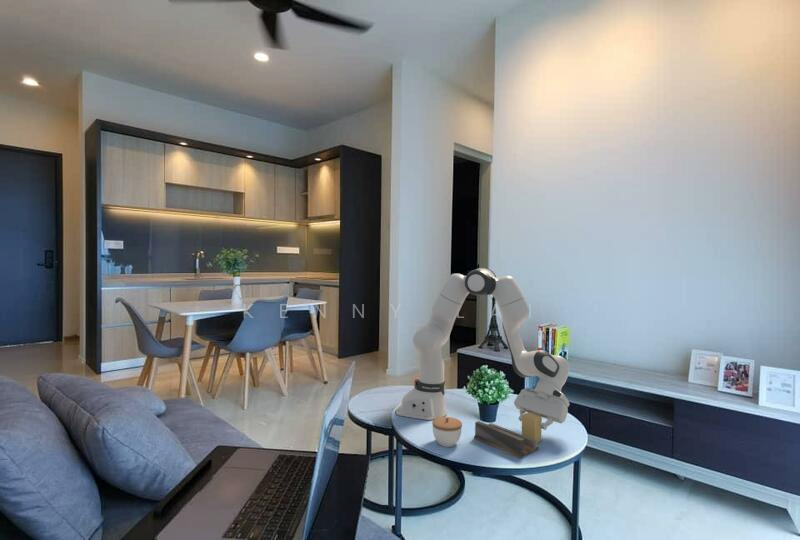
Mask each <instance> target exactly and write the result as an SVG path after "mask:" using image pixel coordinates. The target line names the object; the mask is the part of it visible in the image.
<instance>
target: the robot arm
mask: <svg viewBox="0 0 800 540" xmlns="http://www.w3.org/2000/svg"><path fill="white" fill-rule="evenodd" d="M469 294H471V295H473V296H476V297H477V296H478V297H481V296H490V295H492V296H493V298H494V299H495V301H496V303H497V306H498V308H499V310H500V313H501V317H502V323H501V324H502V329H503V334H504V337H505V339H506V343H507V346H508V350H509V353H510V357H511V366H512V369H513V372H514V373H515V374H516V375H517V376H519V377H520V378H530V377H536V376H537V377H538V378H539V380H538V382H537V383H536V386H535V388H534V389H532V388H528V387H526V388H523V389H521V390H520V391H519V393H518V395H517V396H516V398H515V400H513V404H514V407H515V408H516V409H517V410H518V411H519V417H518V420H519V421H520V422H522V415H523V414H526V413H528V412H529V413H532V414H535V415H538V416H541V417H542V419H546V421H545V422H542V425H541V428H542V430H544V431H546V430H547V429H548V427H549V426H551V425H552V424H553V423H554V422H556V423H558V424H563V423H564V422H565V421H566V419H567V417H568V416H567V415H568V412H569V410H568V408H569V406H570V402H569V399H568V397H566V395H565V394H564V393H563V392H562V388H563V386H564V385H565V383H566V382H567V380H568V376H569V374H570V370H571V369H570V368H571V366H570V362H569V361H568V360H567V359H566V358H565V357H563V356H561V355H558V354H557V355H556V354H555V355H554V354H551V353H550V352H548V351H547V350H544V349H538V350H532V351H527V350H526V349H525V346H524V343H523V340H522V337H521V332H520V330H521V329H520V328H521V326H522V324H523V323H524V322H525V321H526V320H527V319H528V317H529V315H530V306H529V303H528V301H527V298H526V297H525V294H524V292H523V289H522V288H521V287H520V285H519V283H518V282H517V281H516V280H515V278H514V277H513V276H511V275H502V276H500V277H497V276H496V273H495V272H494V271H493V270H492V269H489V268H485V267H484V268H483V267H478V268H475V269H473V270H470V272H468V273H467V274H466V275H464V274H461V273H451V275H449V277H448V278H447V279H446V281H445V282H444V284H443V286H442V287H441V289H440V291H439V292H438V295H437V297H436V300H435V301H434V304H433V305H432V307H431V308H432V309H431V314H430V317H429V321H428V323H427V324H426V325H423V326H422V327H419V329H418V330H416V332H415V333H414V335H413V338H412V343H413V346H414V348H416V353H417V357H418V367H419V369H418V377H415V378H414V384H413V385H414V387H413V388H412V389H411V390H409V391H408V392H407V393H405V394H404V395H403V397H402V400H401V403H400V404H398V405H397V407H396V409H395V413H396V415H397V414H398V415H397V416H399V417H408V418H413V419H420V420H424V421H425V420H426V421H433V420H434V419H436V418H439V417H446V416H447V415H448V410H447V405H446V399H445V394H446V381H445V361H444V360H443V356H442V346H445V345H446V343H447V342H448V340H449V338H450V335H451V332H452V330H453V327H454V324H455V321H456V319H457V316H458V315H459V313H460V311H461V309H462V306H463V304H464V302H465V301H466V298H467V297H468V295H469Z"/></svg>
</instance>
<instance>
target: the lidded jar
mask: <svg viewBox="0 0 800 540" xmlns="http://www.w3.org/2000/svg"><path fill="white" fill-rule="evenodd" d="M431 424H432V433H433V438H434V439H435V440H436V442H437V443H438V445H440V446H442V447H445V448H447V447H448V448H449V447H451V448H452V447H454V446H455V445H456V444H457V443H458V442H459V440H460V438H461V436H462V430H463V429H462V427H463V422H462V421H461V420H460V419H458V418H456V417H450V416H443V417H439V418H435V419H433V420H432V423H431Z"/></svg>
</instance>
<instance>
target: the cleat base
mask: <svg viewBox="0 0 800 540" xmlns="http://www.w3.org/2000/svg"><path fill="white" fill-rule="evenodd" d="M474 423H475V424H474V425H475V426H474V435H473V439H475V440H476V441H480V442H482V443H484V444H486V445H488V446H489V447H490V446H491V447H493V448H495V449H497V450H500V451H502V452H503V453H506V454H508V455H511V456H513V457H515V458H517V459H522V458H524V457H526V456H528V455H530V454H532V453H534V452H535V451H538V450H539V446H537V443H538V442H537V441H536V440H534V439H531V438H529V437H526V436H524V435H522V433H519V432H516V431H514V430H513V431H512V430H511V429H507V428H506V427H502V426H501V425H498V424H495V423H493V422H490V423H489V422H488V423H485V422H482V421H480V420H478V421H475V422H474Z"/></svg>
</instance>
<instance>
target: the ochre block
mask: <svg viewBox="0 0 800 540" xmlns="http://www.w3.org/2000/svg"><path fill="white" fill-rule="evenodd" d="M542 420H543V417H541V416H538V415H535V414H532V413H529V412H525V414H524V413H523V415H522V421H521V435H524V436H526V437H529V438H531V439H534V440H536V441H537V443H539V442H542V431H543V429H542V428H541V425H542V423H543V421H542Z"/></svg>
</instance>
